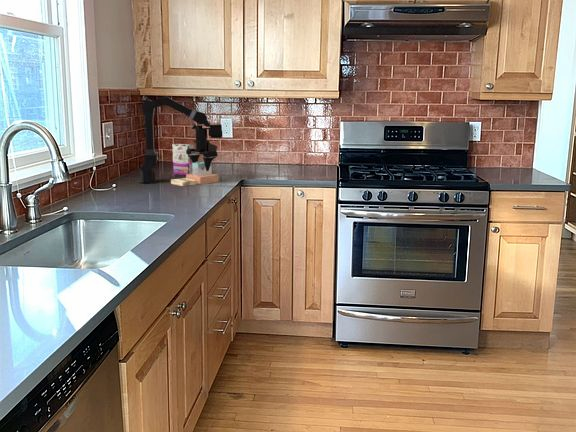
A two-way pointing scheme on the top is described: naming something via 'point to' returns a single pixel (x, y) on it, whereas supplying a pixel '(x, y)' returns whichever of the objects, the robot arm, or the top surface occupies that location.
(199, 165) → the housing cover
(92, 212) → the top surface
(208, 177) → the terracotta riser
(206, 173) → the housing base
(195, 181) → the birch board
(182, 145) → the candy bar box
